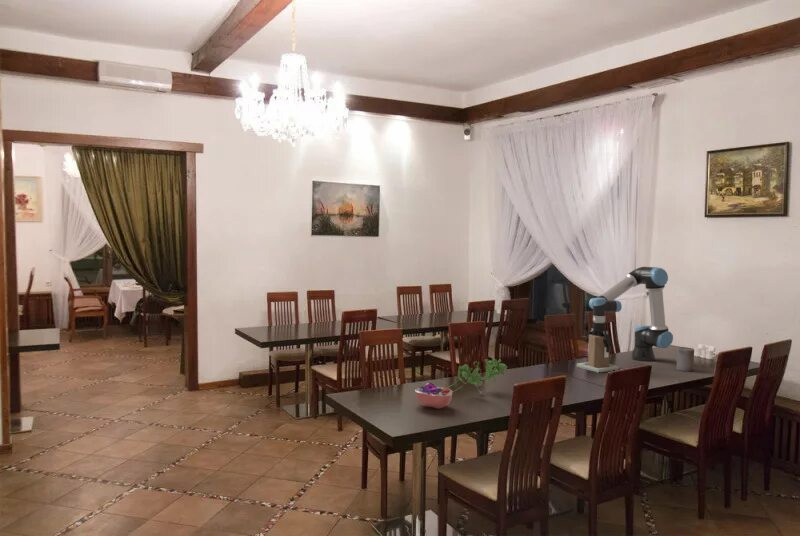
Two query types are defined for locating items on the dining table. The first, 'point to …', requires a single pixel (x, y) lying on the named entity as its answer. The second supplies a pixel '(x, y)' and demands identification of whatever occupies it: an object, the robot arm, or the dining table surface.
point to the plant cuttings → (472, 377)
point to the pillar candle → (685, 359)
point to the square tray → (605, 369)
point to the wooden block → (597, 352)
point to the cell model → (433, 396)
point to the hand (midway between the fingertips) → (598, 355)
